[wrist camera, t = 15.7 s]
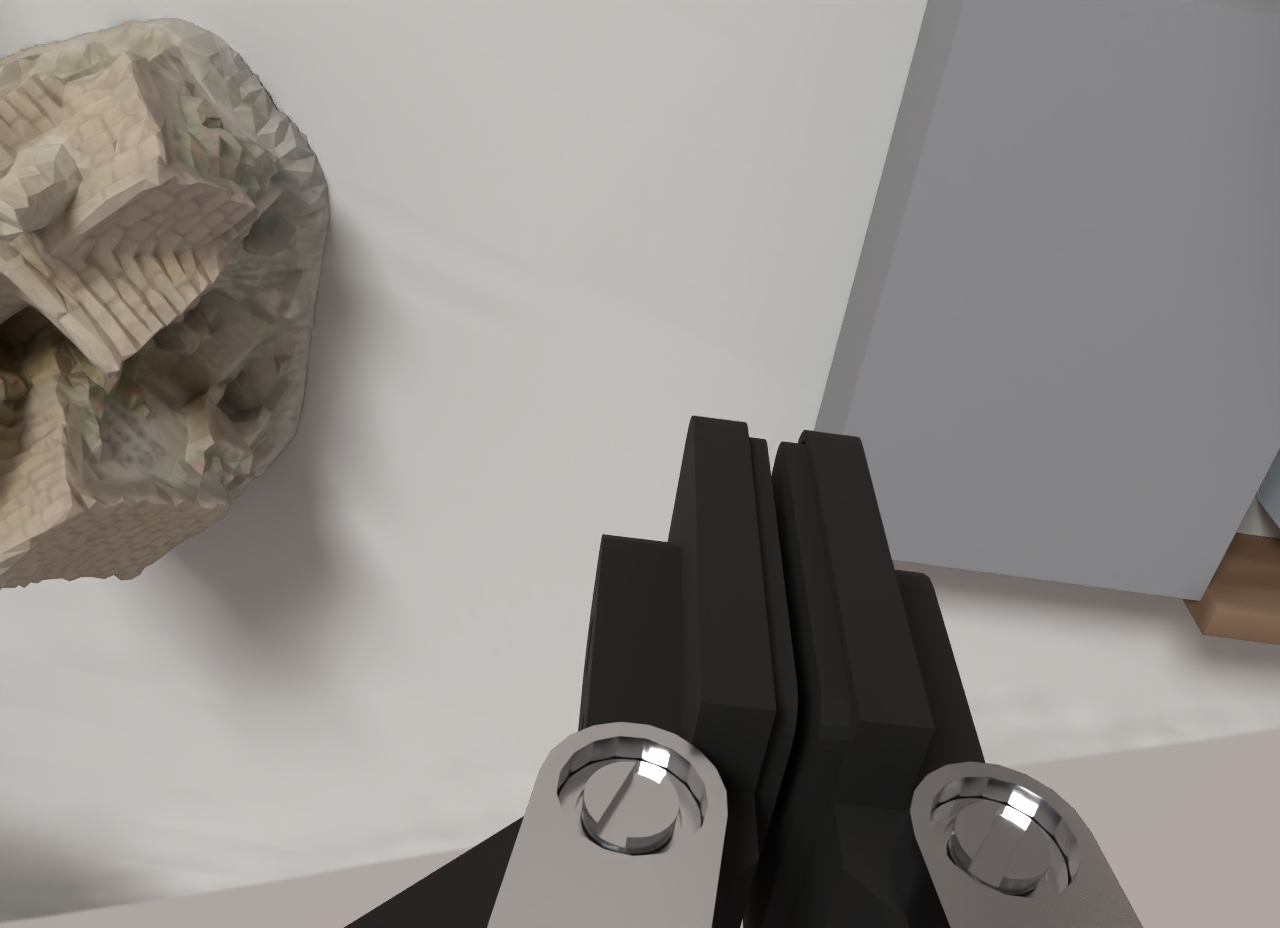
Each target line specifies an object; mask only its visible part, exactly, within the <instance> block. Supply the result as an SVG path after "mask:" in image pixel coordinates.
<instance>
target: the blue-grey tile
mask: <svg viewBox="0 0 1280 928" xmlns="http://www.w3.org/2000/svg"><path fill="white" fill-rule="evenodd" d="M1256 498H1257V499H1258V501H1259V502H1260V503H1261V505H1262V506H1263V507H1264V509H1265V510H1266V511H1267V513H1268V514H1269V515H1270V516H1271V518H1272V519H1273V520H1274V522H1275V523H1276V524H1277V526H1278V527H1279V528H1280V452H1279V454H1278V456H1277V458H1276V460H1275V462H1274V464H1273V466H1272V468H1271V470H1270V472H1269V474H1268V476H1267V477H1266V479H1265V481H1264V483H1263V485H1262V487H1261V489H1260V491H1259V493H1258V495H1257V497H1256Z"/></svg>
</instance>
